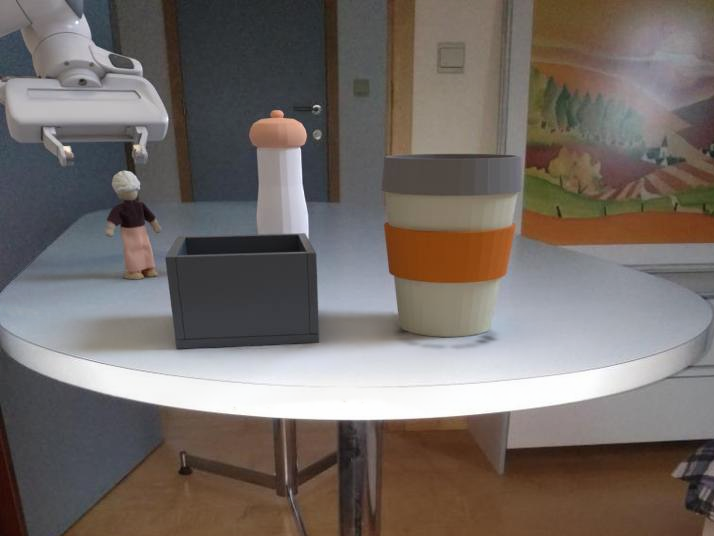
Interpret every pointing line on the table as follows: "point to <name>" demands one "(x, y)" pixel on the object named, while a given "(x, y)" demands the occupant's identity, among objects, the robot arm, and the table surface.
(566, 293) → the table surface
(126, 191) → the grandmother figurine
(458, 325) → the reusable coffee cup
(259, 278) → the dark grey storage bin
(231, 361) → the table surface
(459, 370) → the table surface
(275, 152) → the pepper shaker
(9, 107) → the robot arm
